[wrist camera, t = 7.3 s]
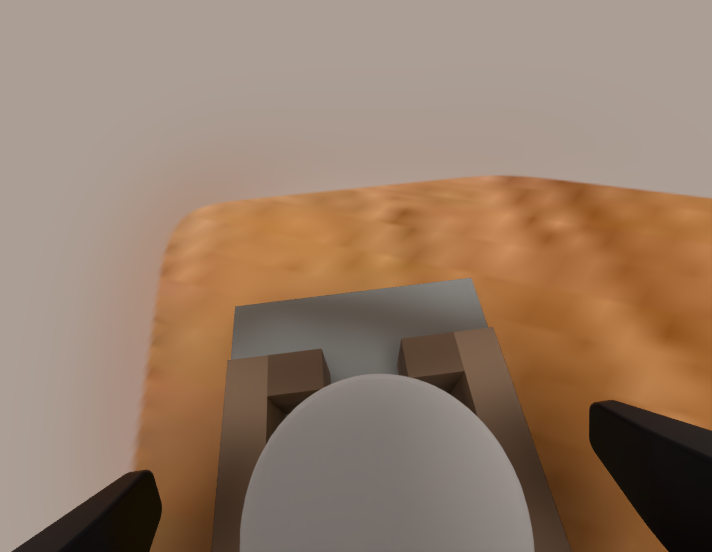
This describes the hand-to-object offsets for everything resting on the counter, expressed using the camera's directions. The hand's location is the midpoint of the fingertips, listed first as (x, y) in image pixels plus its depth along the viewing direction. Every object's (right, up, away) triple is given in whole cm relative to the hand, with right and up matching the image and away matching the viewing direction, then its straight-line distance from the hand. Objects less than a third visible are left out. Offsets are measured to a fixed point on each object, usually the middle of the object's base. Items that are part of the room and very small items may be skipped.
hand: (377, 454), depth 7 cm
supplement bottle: (0, -5, +6) cm, 8 cm away
